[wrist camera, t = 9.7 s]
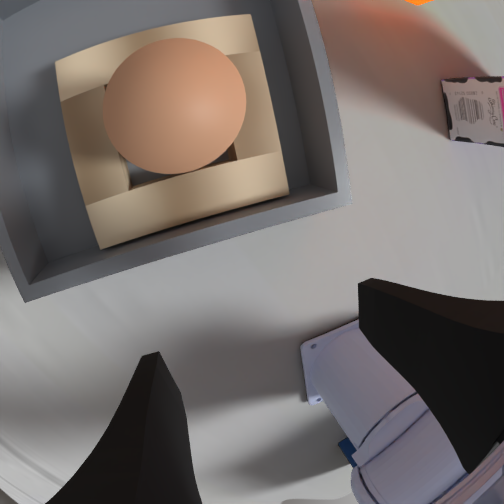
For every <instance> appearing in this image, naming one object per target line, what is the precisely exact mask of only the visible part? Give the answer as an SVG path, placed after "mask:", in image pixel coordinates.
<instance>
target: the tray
mask: <svg viewBox="0 0 504 504" xmlns="http://www.w3.org/2000/svg"><path fill="white" fill-rule="evenodd" d="M244 14H251V17H252V21H253V25H254V29H255V33H256V37H257V41H258V45H259V49H260V53H261V58H262V62H263V66H264V70H265V75H266V79H267V84H268V88H269V93H270V97H271V102H272V106H273V111H274V116H275V121H276V125H277V130H278V135H279V140H280V145H281V151H282V156H283V161H284V166H285V172H286V177H287V183H288V188H289V195H285V196H281V197H277V198H273V199H269V200H265V201H262V202H258V203H254V204H250V205H247V206H243V207H239V208H236V209H232V210H228V211H225V212H221V213H218V214H214V215H211V216H207V217H204V218H200V219H197V220H193V221H190V222H187V223H183V224H180V225H177V226H173V227H170V228H167V229H163V230H160V231H157V232H154V233H150V234H147V235H144V236H141V237H138V238H135V239H131V240H128V241H125V242H122V243H119V244H116V245H113V246H110V247H107V248H104V249H101V250H100V247H99V245H98V242H97V239H96V236H95V233H94V230H93V227H92V225H91V222H90V219H89V215H88V212H87V209H86V206H85V203H84V199H83V196H82V193H81V189H80V186H79V182H78V179H77V175H76V171H75V167H74V164H73V160H72V156H71V151H70V147H69V143H68V138H67V134H66V129H65V124H64V119H63V113H62V108H61V102H60V96H59V89H58V83H57V75H56V67H55V62H56V61H58V60H60V59H63V58H65V57H67V56H70V55H72V54H75V53H77V52H80V51H82V50H85V49H88V48H90V47H93V46H96V45H99V44H102V43H105V42H108V41H111V40H114V39H117V38H120V37H124V36H127V35H130V34H134V33H138V32H141V31H145V30H149V29H154V28H158V27H162V26H167V25H172V24H177V23H182V22H188V21H194V20H200V19H207V18H214V17H223V16H232V15H244ZM228 159H229V156H228V151H227V150H226V151H225V152H224V153H223V154H221V155H220V156H219V157H218V158H217V159H215V160H214V161H212V162H211V163H209V164H212V163H216V162H220V161H224V160H228ZM126 162H127V166H128V170H129V173H130V177H131V181H132V184H133V186H135V185H138V184H142V183H145V182H148V181H151V180H154V179H158V178H161V177H164V176H168V175H171V174H162V173H155V172H151V171H147V170H145V169H142V168H140V167H138V166H136V165H134V164H132V163H131V162H129V161H128V160H127V159H126ZM207 165H208V164H207ZM349 204H352V196H351V187H350V179H349V172H348V164H347V157H346V150H345V144H344V138H343V132H342V126H341V120H340V115H339V109H338V104H337V99H336V94H335V89H334V85H333V80H332V76H331V71H330V67H329V63H328V59H327V54H326V50H325V47H324V43H323V39H322V35H321V31H320V28H319V24H318V21H317V17H316V14H315V11H314V7H313V4H312V1H311V0H0V247H1V250H2V252H3V255H4V258H5V260H6V262H7V265H8V267H9V270H10V272H11V274H12V277H13V279H14V281H15V283H16V286H17V288H18V290H19V292H20V294H21V296H22V298H23V300H24V302H25V303H26V302H29V301H32V300H35V299H38V298H41V297H44V296H47V295H50V294H53V293H56V292H59V291H62V290H65V289H68V288H71V287H74V286H77V285H80V284H84V283H87V282H90V281H93V280H96V279H99V278H102V277H105V276H109V275H112V274H115V273H118V272H121V271H124V270H128V269H131V268H134V267H137V266H140V265H144V264H147V263H150V262H153V261H157V260H160V259H163V258H166V257H170V256H173V255H176V254H179V253H183V252H186V251H189V250H193V249H196V248H199V247H203V246H206V245H209V244H213V243H216V242H219V241H223V240H226V239H230V238H233V237H236V236H240V235H243V234H247V233H250V232H254V231H257V230H260V229H264V228H267V227H271V226H274V225H278V224H281V223H285V222H288V221H292V220H295V219H299V218H303V217H306V216H310V215H313V214H317V213H320V212H324V211H328V210H331V209H335V208H338V207H342V206H346V205H349Z"/></svg>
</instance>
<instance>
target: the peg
mask: <svg viewBox="0 0 504 504" xmlns="http://www.w3.org/2000/svg"><path fill="white" fill-rule="evenodd" d="M245 112H246V92H245V87H244V83H243V81H242V78H241V76H240V74H239V72H238V70H237V68H236V67H235V65H234V64H233V63H232V62H231V60H230V59H229V58H228V57H227V56H226V55H224V54H223V53H222V52H221V51H219V50H218V49H216V48H215V47H213V46H211V45H209V44H206V43H204V42H201V41H198V40H194V39H187V38H170V39H164V40H159V41H156V42H153V43H150V44H148V45H146V46H144V47H142V48H140V49H138V50H137V51H135V52H134V53H132V54H131V55H130V56H129V57H127V58H126V59H125V60H124V61H123V62H122V63H121V64H120V65H119V67H118V68H117V69H116V71H115V72H114V73H113V75H112V77H111V79H110V81H109V83H108V85H107V88H106V91H105V95H104V99H103V121H104V126H105V129H106V132H107V135H108V137H109V139H110V141H111V143H112V144H113V146H114V147H115V148H116V150H117V151H118V152H119V153H120V154H121V155H122V156H123V157H124V158H125V159H127V160H128V161H129V162H131V163H132V164H134V165H136V166H138V167H140V168H142V169H145V170H147V171H151V172H155V173H162V174H178V173H185V172H189V171H193V170H196V169H198V168H201V167H203V166H205V165H207V164H209V163H211V162H212V161H214V160H215V159H217V158H218V157H219V156H220V155H221V154H223V153H224V152H225V151H226V150H227V149H228V147H229V146H230V145H231V144H232V143H233V141H234V140H235V138H236V137H237V135H238V133H239V131H240V129H241V127H242V124H243V121H244V117H245Z"/></svg>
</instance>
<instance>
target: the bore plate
mask: <svg viewBox="0 0 504 504" xmlns="http://www.w3.org/2000/svg"><path fill="white" fill-rule="evenodd" d="M170 38H187V39H194V40H198V41H201V42H204V43H206V44H209V45H211V46H213V47H215V48H216V49H218V50H219V51H221V52H222V53H223V54H224V55H226V56H227V57H228V58H229V59H230V60H231V62H232V63H233V64H234V65H235V67H236V68H237V70H238V72H239V74H240V76H241V78H242V81H243V83H244V87H245V92H246V112H245V117H244V121H243V124H242V127H241V129H240V131H239V133H238V135H237V137H236V138H235V140H234V141H233V143H232V144H231V145H230V146H229V147H228V149H227V151H228V156H229V159H228V160H224V161H220V162H216V163H212V164H208V165H205V166H203V167H201V168H198V169H196V170H193V171H189V172H185V173H178V174H171V175H168V176H164V177H161V178H158V179H154V180H151V181H148V182H145V183H142V184H138V185H135V186H133V184H132V181H131V177H130V173H129V170H128V166H127V162H126V159H125V158H124V157H123V156H122V155H121V154H120V153H119V152H118V151H117V150H116V148H115V147H114V146H113V144H112V143H111V141H110V139H109V137H108V135H107V132H106V129H105V126H104V121H103V99H104V95H105V91H106V88H107V85H108V83H109V81H110V79H111V77H112V75H113V73H114V72H115V71H116V69H117V68H118V67H119V65H120V64H121V63H122V62H123V61H124V60H125V59H126V58H127V57H129V56H130V55H131V54H132V53H134V52H135V51H137V50H138V49H140V48H142V47H144V46H146V45H148V44H150V43H153V42H156V41H159V40H164V39H170ZM55 67H56V75H57V83H58V89H59V96H60V102H61V108H62V113H63V119H64V124H65V129H66V134H67V138H68V143H69V147H70V151H71V156H72V160H73V164H74V167H75V171H76V175H77V179H78V182H79V186H80V189H81V193H82V196H83V199H84V203H85V206H86V209H87V212H88V215H89V219H90V222H91V225H92V227H93V230H94V233H95V236H96V239H97V242H98V245H99V247H100V250H101V249H104V248H107V247H110V246H113V245H116V244H119V243H122V242H125V241H128V240H131V239H135V238H138V237H141V236H144V235H147V234H150V233H154V232H157V231H160V230H163V229H167V228H170V227H173V226H177V225H180V224H183V223H187V222H190V221H193V220H197V219H200V218H204V217H207V216H211V215H214V214H218V213H221V212H225V211H228V210H232V209H236V208H239V207H243V206H247V205H250V204H254V203H258V202H262V201H265V200H269V199H273V198H277V197H281V196H285V195H289V188H288V183H287V177H286V172H285V166H284V161H283V156H282V151H281V145H280V140H279V135H278V130H277V125H276V121H275V116H274V111H273V106H272V102H271V97H270V93H269V88H268V84H267V79H266V75H265V70H264V66H263V62H262V58H261V53H260V49H259V45H258V41H257V37H256V33H255V29H254V25H253V21H252V17H251V14H244V15H232V16H223V17H214V18H207V19H200V20H194V21H188V22H182V23H177V24H172V25H167V26H162V27H158V28H154V29H149V30H145V31H141V32H138V33H134V34H130V35H127V36H124V37H120V38H117V39H114V40H111V41H108V42H105V43H102V44H99V45H96V46H93V47H90V48H88V49H85V50H82V51H80V52H77V53H75V54H72V55H70V56H67V57H65V58H63V59H60V60H58V61H56V62H55Z"/></svg>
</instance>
